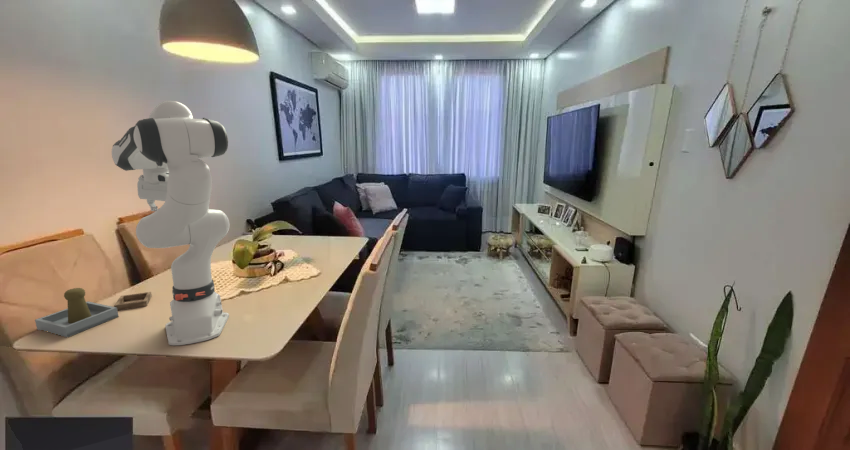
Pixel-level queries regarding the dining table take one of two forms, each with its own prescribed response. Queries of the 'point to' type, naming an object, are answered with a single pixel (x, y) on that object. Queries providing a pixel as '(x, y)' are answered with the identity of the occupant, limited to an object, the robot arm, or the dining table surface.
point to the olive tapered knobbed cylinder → (76, 305)
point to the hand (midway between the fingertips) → (163, 211)
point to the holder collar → (122, 306)
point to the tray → (61, 326)
